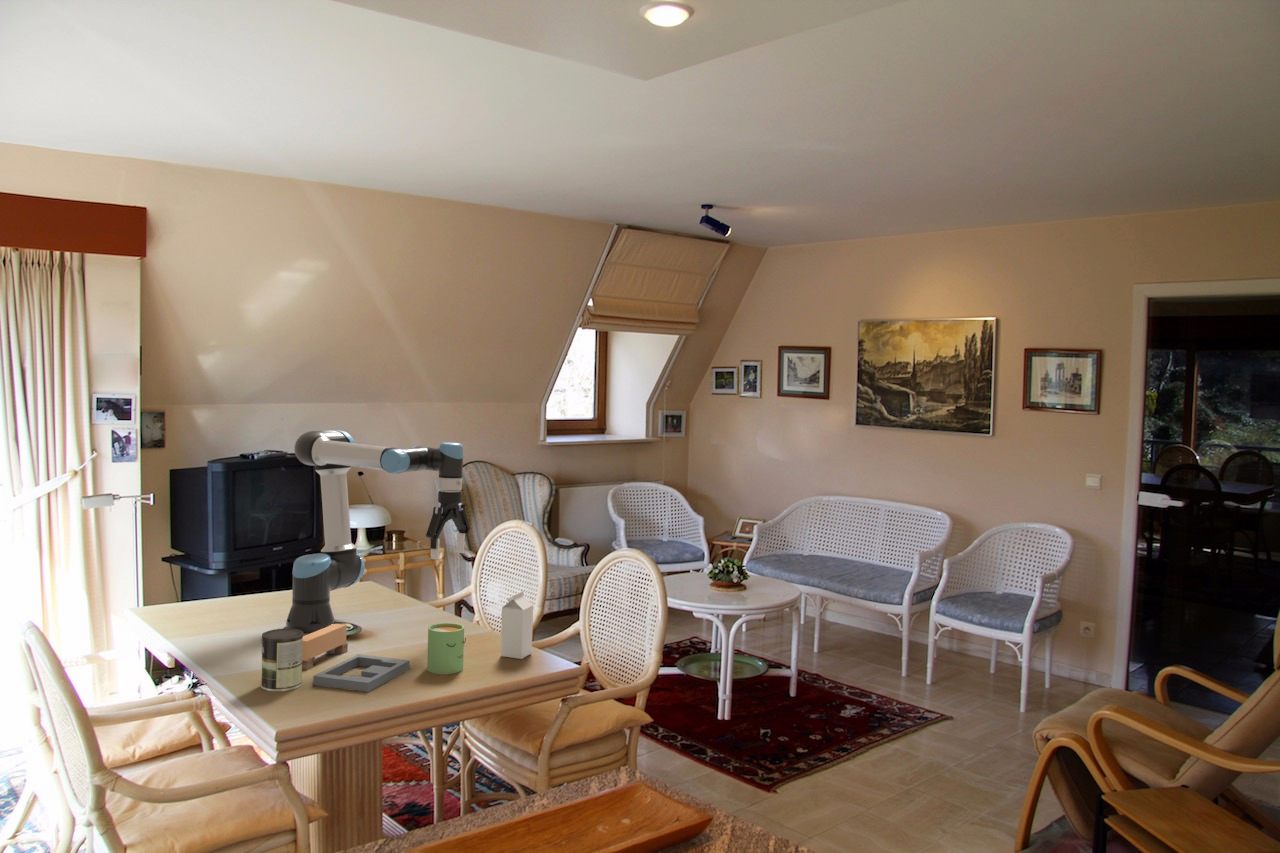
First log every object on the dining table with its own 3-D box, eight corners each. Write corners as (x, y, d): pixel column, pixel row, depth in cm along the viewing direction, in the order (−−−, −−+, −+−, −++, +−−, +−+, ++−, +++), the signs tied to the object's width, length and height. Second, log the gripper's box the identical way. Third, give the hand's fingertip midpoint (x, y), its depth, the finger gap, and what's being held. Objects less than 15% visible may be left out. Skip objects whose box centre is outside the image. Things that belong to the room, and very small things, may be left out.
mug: (446, 676, 260) (447, 634, 260) (419, 669, 266) (420, 627, 265) (477, 666, 271) (478, 625, 270) (450, 659, 276) (451, 619, 276)
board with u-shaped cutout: (313, 685, 249) (313, 675, 249) (358, 662, 270) (358, 654, 270) (368, 692, 245) (368, 682, 244) (409, 668, 266) (409, 660, 266)
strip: (293, 666, 263) (294, 639, 263) (334, 648, 282) (335, 623, 282) (306, 667, 262) (306, 641, 262) (346, 649, 281) (346, 624, 281)
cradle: (292, 667, 263) (292, 659, 263) (332, 649, 282) (333, 641, 282) (307, 669, 262) (307, 660, 262) (347, 651, 281) (347, 643, 281)
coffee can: (255, 691, 242) (256, 638, 241) (267, 679, 252) (268, 628, 252) (296, 692, 243) (297, 638, 242) (306, 679, 253) (308, 628, 252)
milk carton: (531, 653, 285) (533, 592, 285) (521, 659, 279) (523, 596, 278) (511, 650, 288) (512, 589, 287) (500, 656, 281) (502, 594, 280)
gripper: (435, 494, 288) (433, 563, 289) (482, 488, 310) (479, 551, 311) (416, 492, 291) (413, 560, 292) (463, 486, 314) (461, 549, 314)
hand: (447, 555), depth 302 cm, fingers open, 13 cm apart
